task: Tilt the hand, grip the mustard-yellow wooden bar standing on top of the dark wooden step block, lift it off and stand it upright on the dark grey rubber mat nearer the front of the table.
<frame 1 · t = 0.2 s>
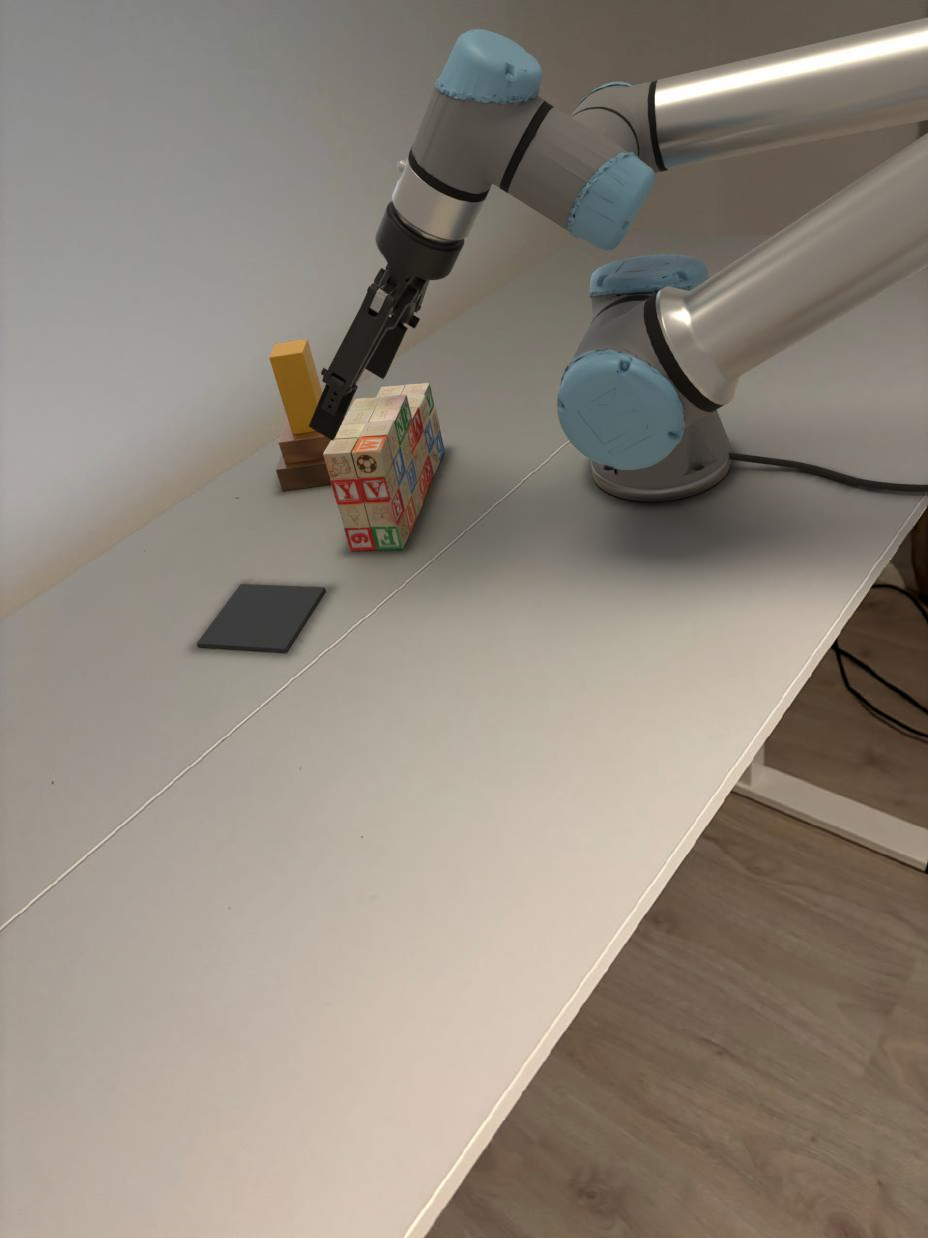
hand: (348, 400, 105), 16 cm above the table, tool tilted 35°, fingers open, 13 cm apart
mat: (263, 618, 105), on the table
bar: (310, 425, 125), point 6 cm above the table, touching dark wooden step block
stack of blocks: (401, 499, 119), on the table
dark wooden step block: (323, 467, 129), on the table
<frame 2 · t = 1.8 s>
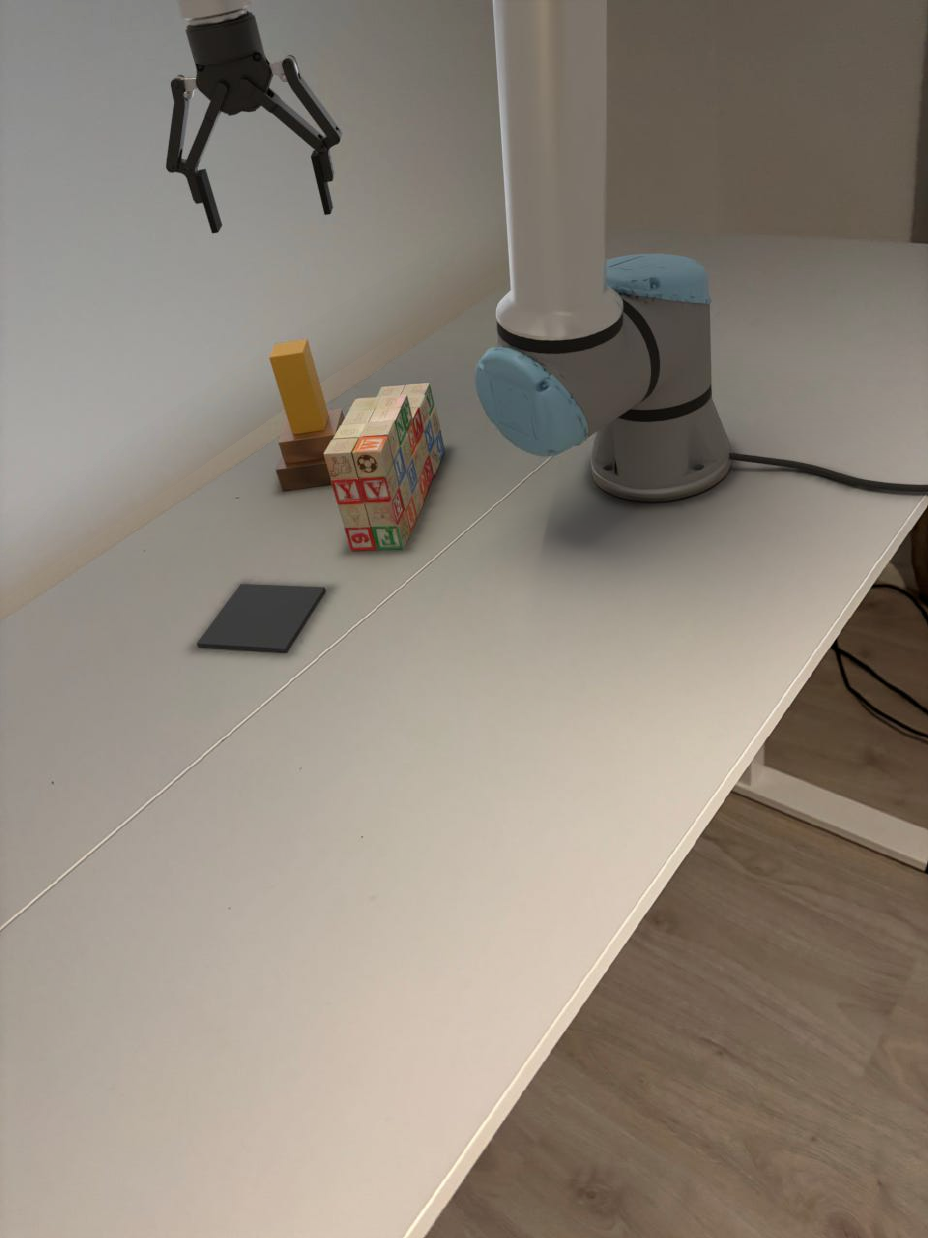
hand: (272, 220, 121), 27 cm above the table, tool pointing down, fingers open, 13 cm apart
nothing on the table moved.
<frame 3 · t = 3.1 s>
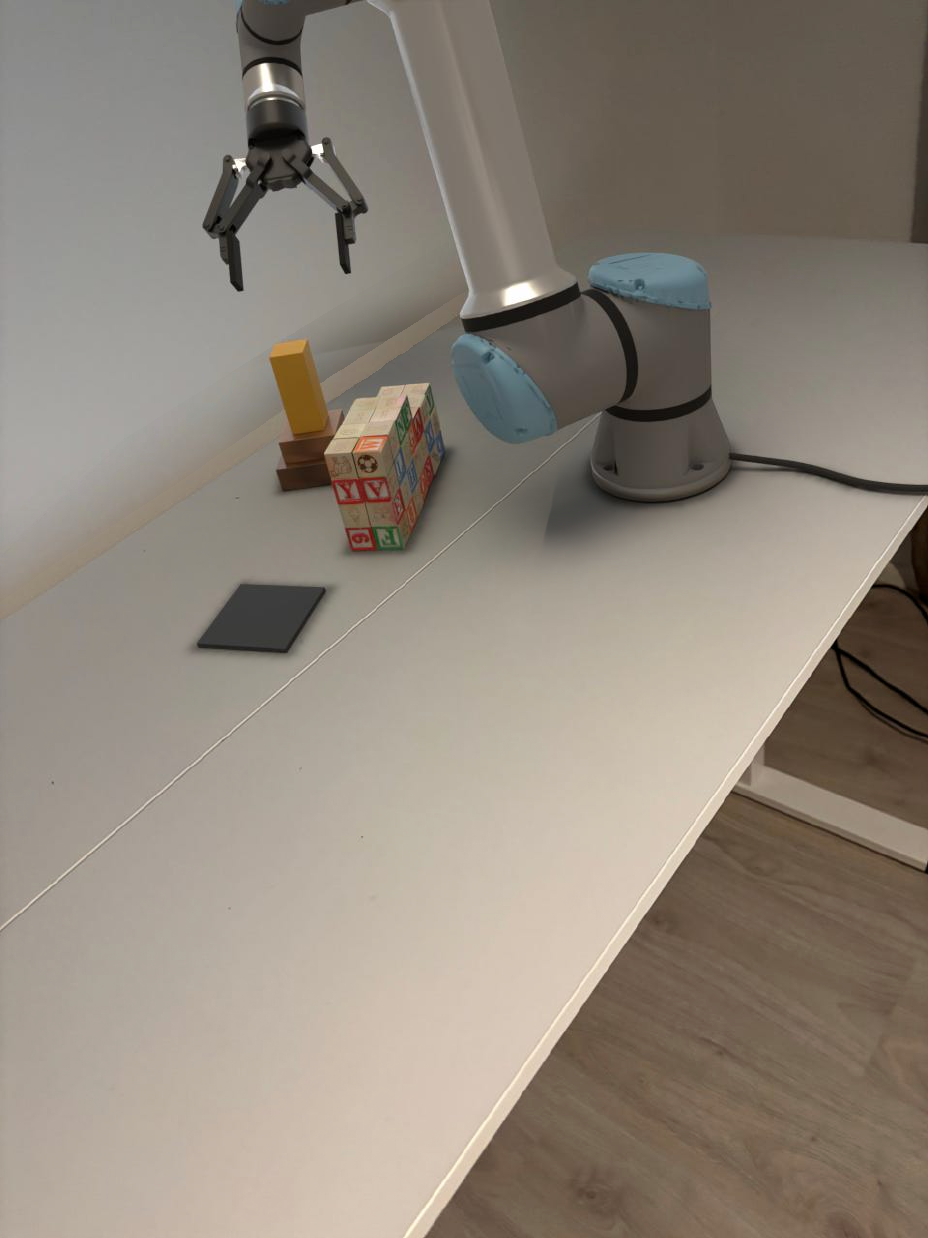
hand: (291, 278, 124), 21 cm above the table, tool tilted 45°, fingers open, 13 cm apart
nothing on the table moved.
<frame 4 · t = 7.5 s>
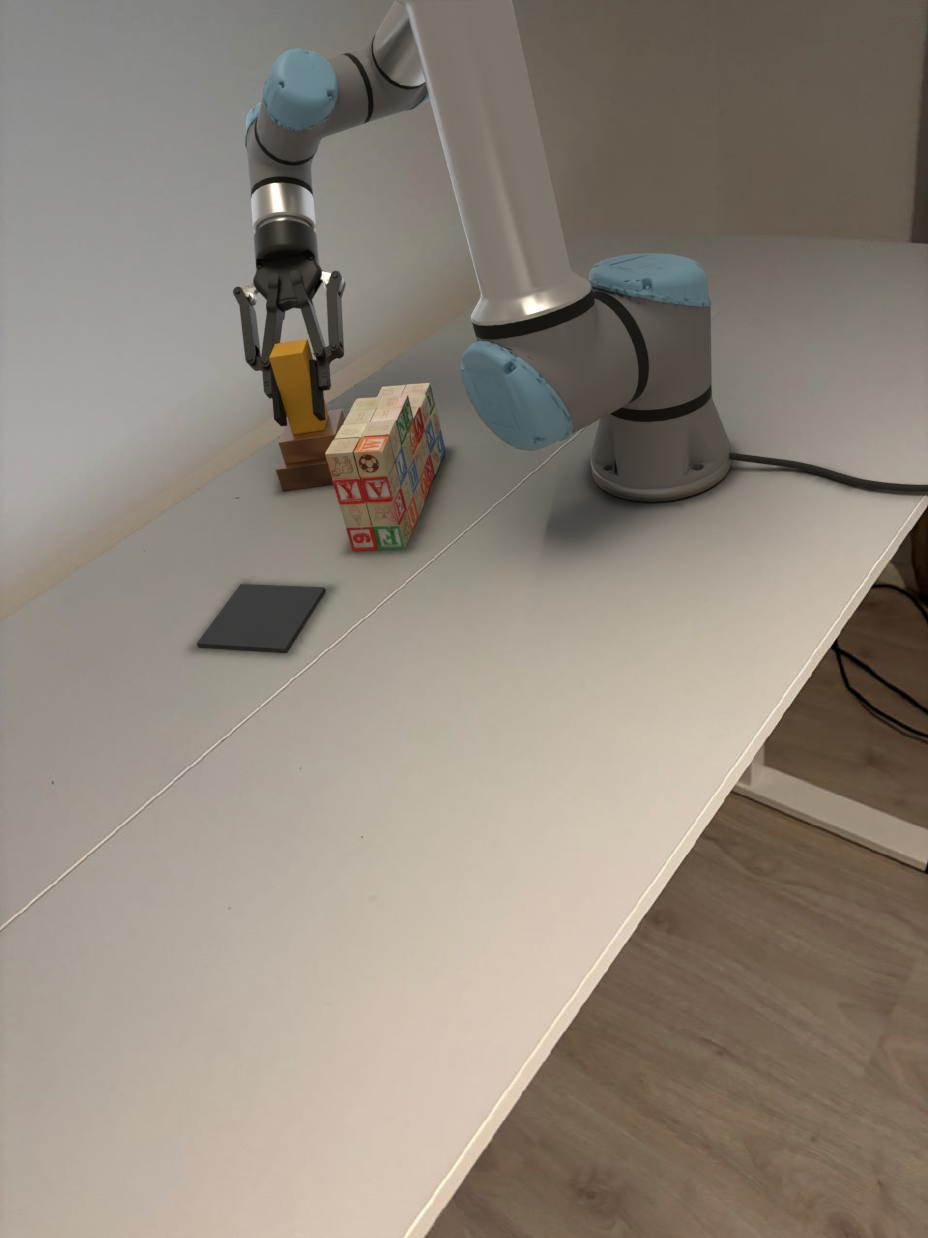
hand: (300, 419, 120), 9 cm above the table, tool tilted 45°, fingers closed on bar, 4 cm apart
bar: (310, 425, 125), point 6 cm above the table, touching gripper, dark wooden step block
everything else where it was.
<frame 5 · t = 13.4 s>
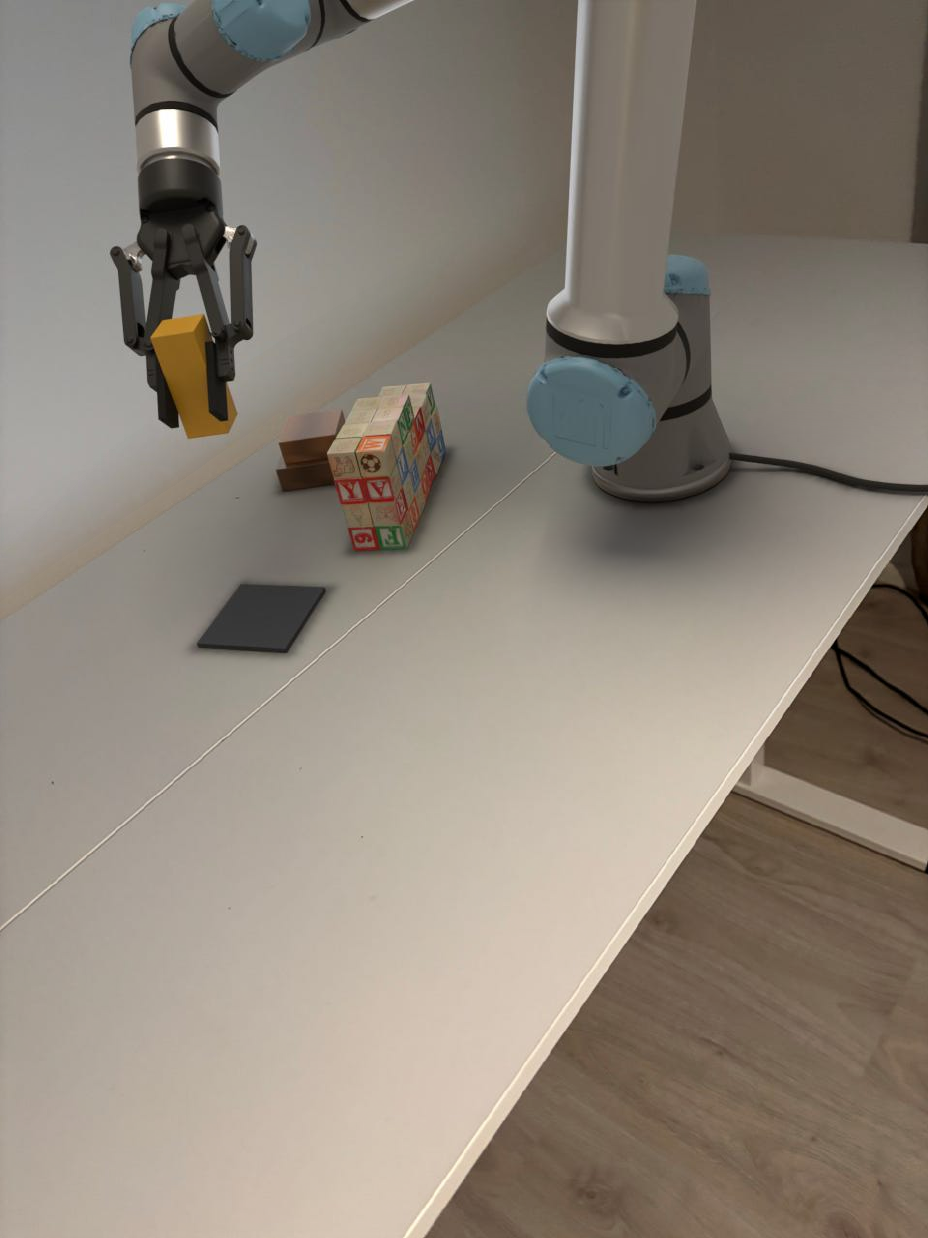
hand: (193, 419, 92), 22 cm above the table, tool tilted 45°, fingers closed on bar, 4 cm apart
bar: (213, 426, 97), point 19 cm above the table, touching gripper
everything else where it was.
when the fingers open (3 cm above the table, at t = 19.2 s): bar stays where it is, resting on mat.
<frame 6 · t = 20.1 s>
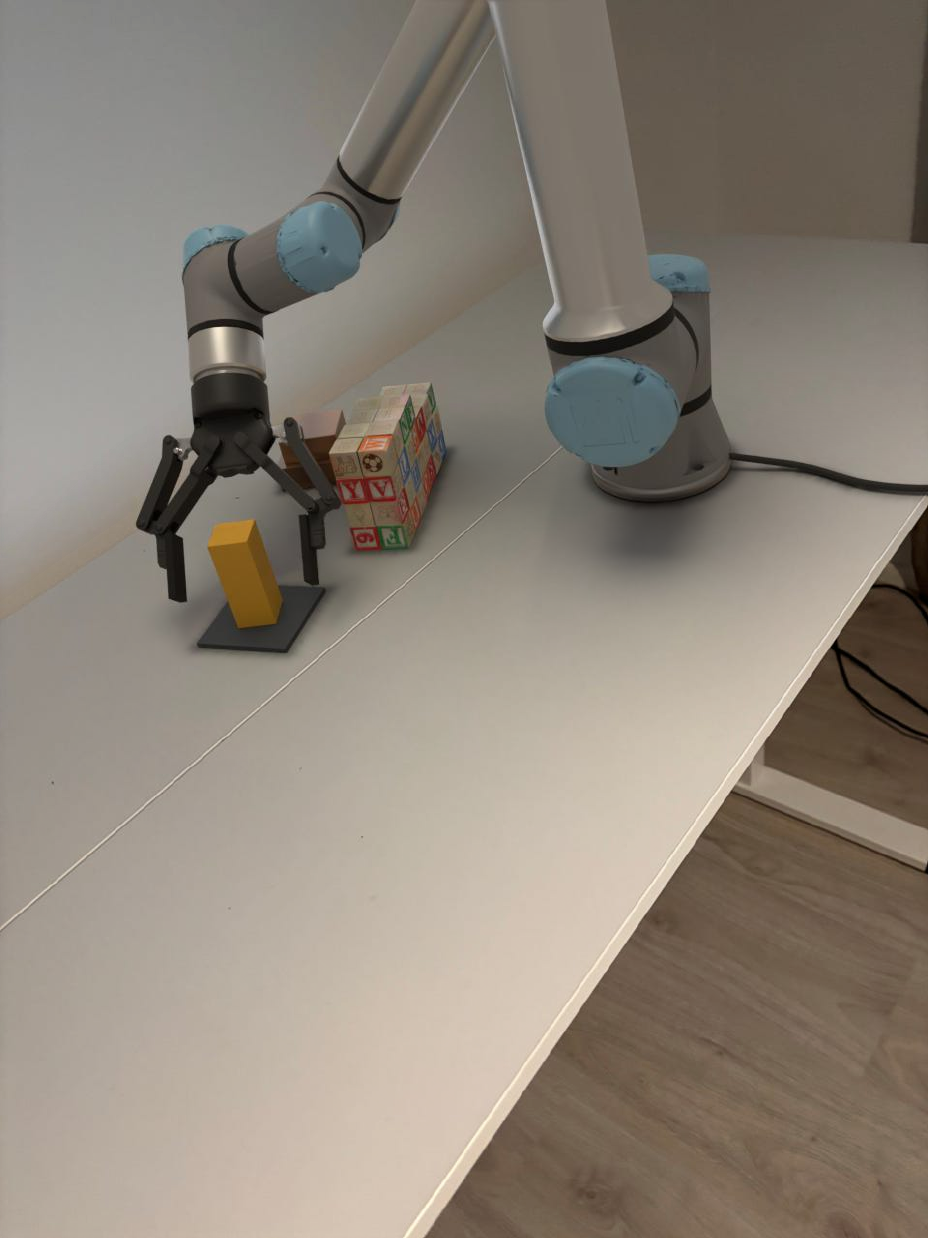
hand: (244, 592, 100), 5 cm above the table, tool tilted 45°, fingers open, 13 cm apart
bar: (261, 614, 104), resting on mat
everything else where it was.
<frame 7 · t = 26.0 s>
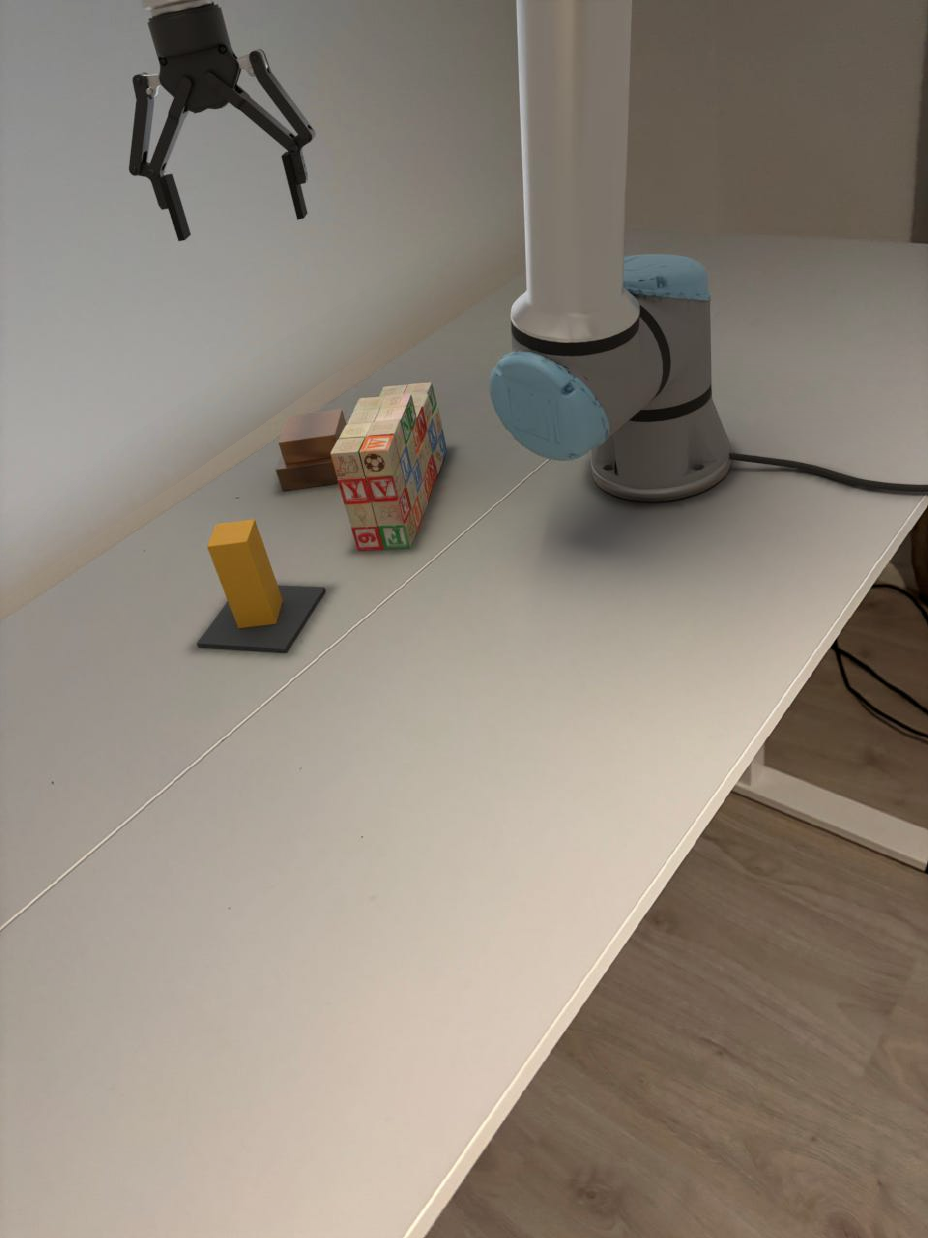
hand: (243, 227, 114), 29 cm above the table, tool pointing down, fingers open, 13 cm apart
nothing on the table moved.
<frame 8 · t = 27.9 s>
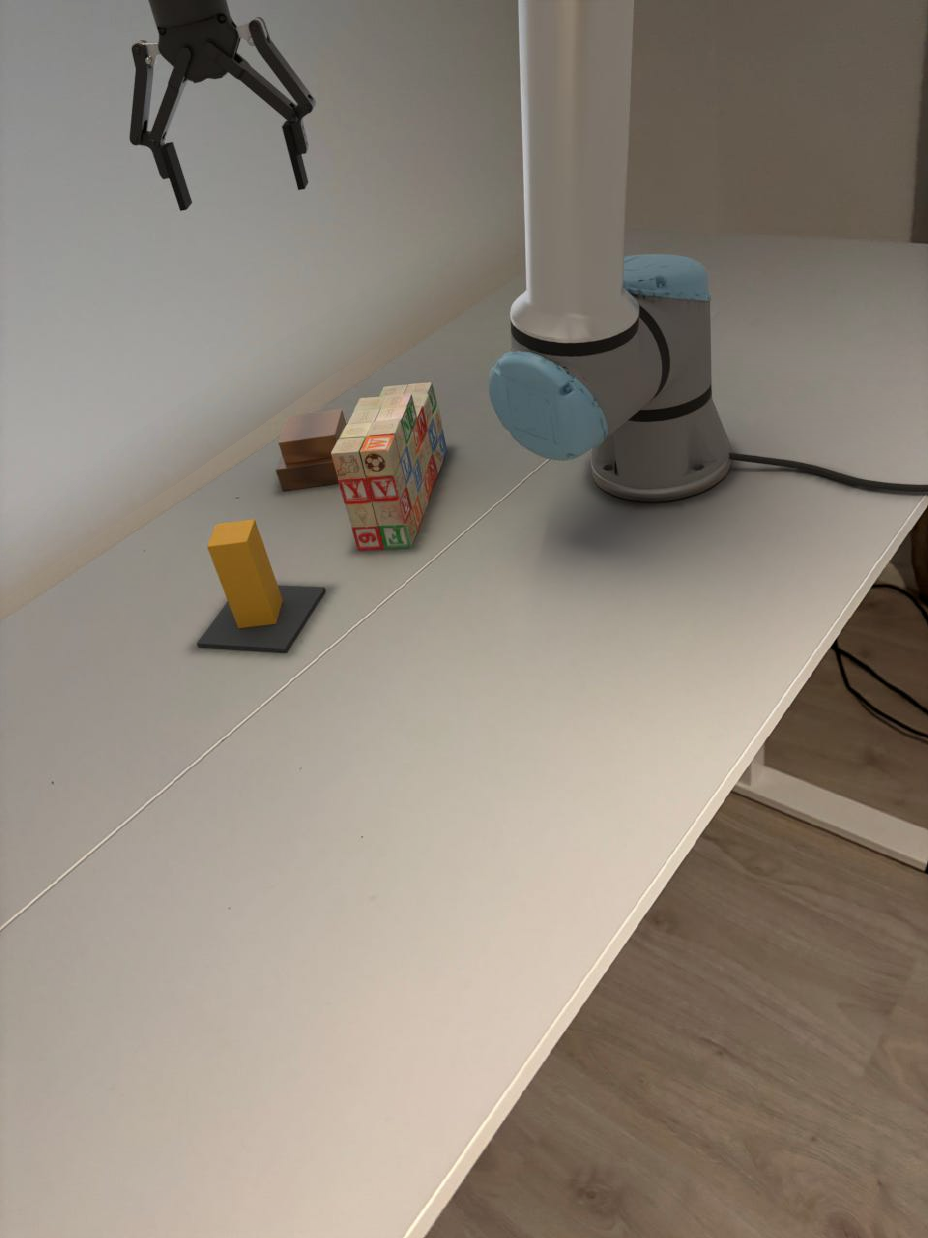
hand: (244, 196, 114), 32 cm above the table, tool pointing down, fingers open, 13 cm apart
nothing on the table moved.
at the end: bar inside the target area on the mat (0.1 cm from its centre), point 0.5 cm above the mat's base; bar tilted 0°; bar touching mat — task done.
